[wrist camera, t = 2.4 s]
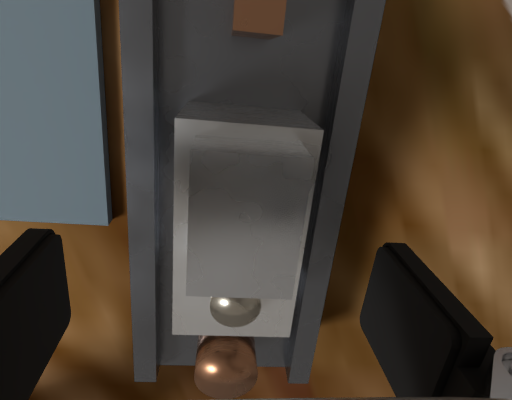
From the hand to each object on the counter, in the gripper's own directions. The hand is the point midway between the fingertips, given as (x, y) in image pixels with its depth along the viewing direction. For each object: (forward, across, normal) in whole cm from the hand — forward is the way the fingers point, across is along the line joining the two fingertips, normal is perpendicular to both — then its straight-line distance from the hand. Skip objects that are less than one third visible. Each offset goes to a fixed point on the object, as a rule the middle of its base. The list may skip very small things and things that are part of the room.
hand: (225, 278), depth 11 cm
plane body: (+10, -1, +1) cm, 10 cm away
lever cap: (+7, -1, 0) cm, 7 cm away
